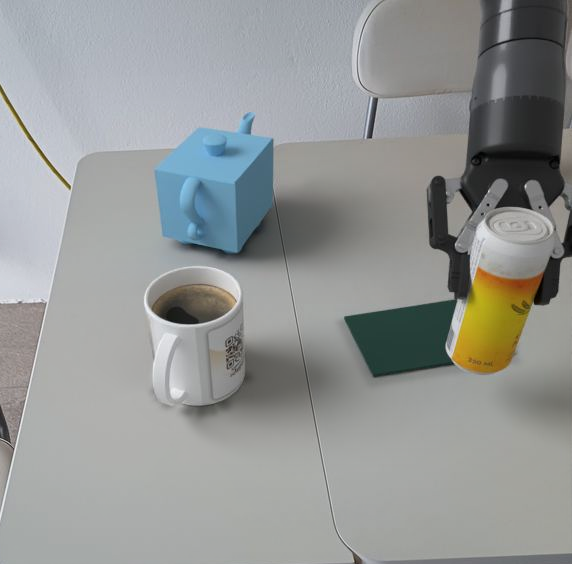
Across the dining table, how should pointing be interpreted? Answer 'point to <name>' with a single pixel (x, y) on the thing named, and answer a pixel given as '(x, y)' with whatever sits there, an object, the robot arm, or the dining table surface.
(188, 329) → the mug
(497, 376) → the dining table surface
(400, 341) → the cloth
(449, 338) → the beer can
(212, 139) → the teapot
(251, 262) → the dining table surface
